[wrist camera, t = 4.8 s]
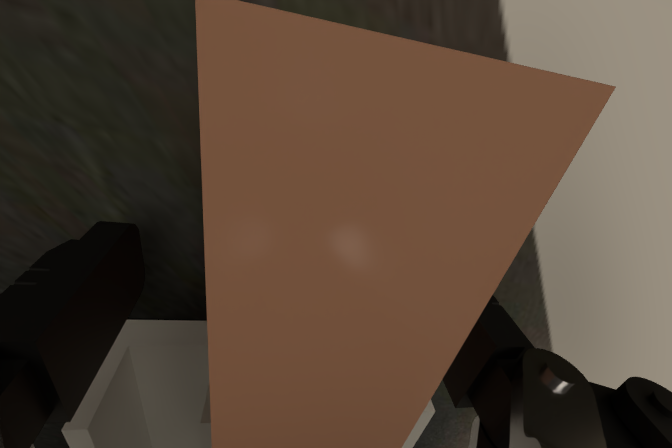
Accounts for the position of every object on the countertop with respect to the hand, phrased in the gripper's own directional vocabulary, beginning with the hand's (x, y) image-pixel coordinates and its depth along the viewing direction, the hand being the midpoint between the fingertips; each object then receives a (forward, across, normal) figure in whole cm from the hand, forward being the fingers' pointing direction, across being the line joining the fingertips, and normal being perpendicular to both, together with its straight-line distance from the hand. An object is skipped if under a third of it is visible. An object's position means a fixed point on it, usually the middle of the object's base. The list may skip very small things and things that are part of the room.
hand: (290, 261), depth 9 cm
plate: (+5, 0, 0) cm, 5 cm away
